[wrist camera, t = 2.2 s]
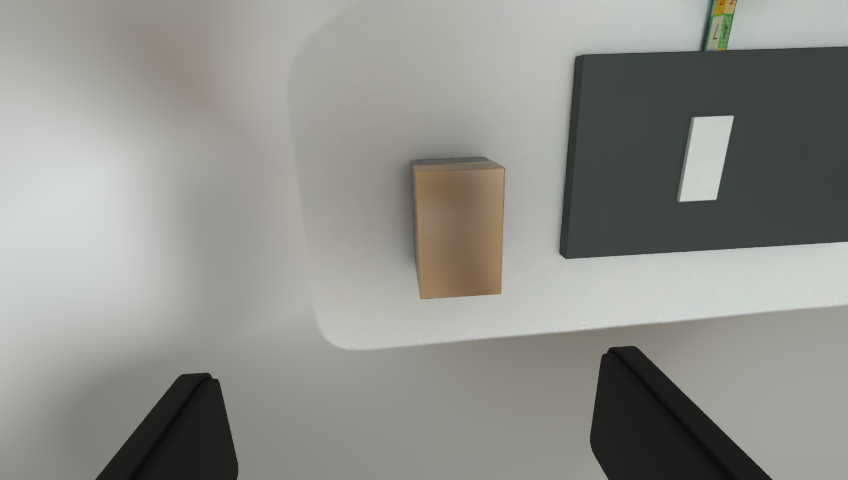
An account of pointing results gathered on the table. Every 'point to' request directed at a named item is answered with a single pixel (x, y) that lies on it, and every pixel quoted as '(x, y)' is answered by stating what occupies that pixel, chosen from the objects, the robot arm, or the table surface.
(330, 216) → the table surface
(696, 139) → the white rectangular block
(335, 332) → the table surface
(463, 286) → the eraser
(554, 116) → the table surface
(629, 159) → the board
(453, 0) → the table surface
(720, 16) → the pencil
